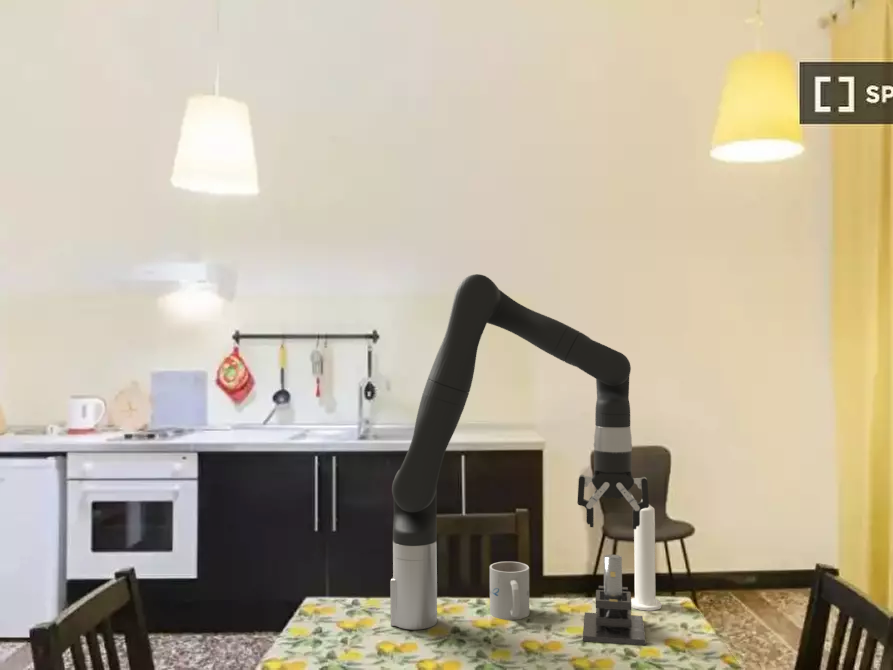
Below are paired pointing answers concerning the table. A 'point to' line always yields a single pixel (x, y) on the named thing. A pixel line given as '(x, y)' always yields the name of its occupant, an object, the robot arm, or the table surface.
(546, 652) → the table surface
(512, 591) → the mug
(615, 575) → the tube
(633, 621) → the bracket
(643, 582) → the candle
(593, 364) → the robot arm
